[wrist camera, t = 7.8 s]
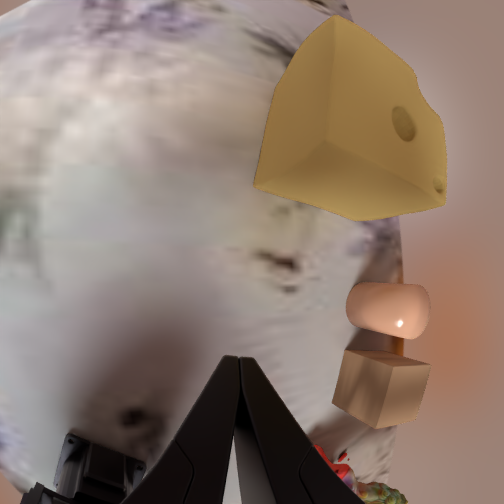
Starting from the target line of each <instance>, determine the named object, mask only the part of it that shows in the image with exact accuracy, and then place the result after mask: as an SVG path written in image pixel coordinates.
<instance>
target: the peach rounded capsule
mask: <svg viewBox="0 0 504 504" xmlns="http://www.w3.org/2000/svg"><path fill="white" fill-rule="evenodd" d="M346 313H347V317H348V319H349V321H350V322H351V323H352V324H353V325H354V326H356V327H360V328H364V329H368V330H372V331H376V332H380V333H384V334H389V335H393V336H397V337H402V338H406V339H414V338H416V337H418V336H419V335H420V334H421V333H422V332H423V330H424V329H425V327H426V325H427V323H428V320H429V316H430V299H429V295H428V293H427V291H426V289H425V288H424V287H423V286H421V285H413V284H395V283H376V282H361V283H358V284H357V285H356V286H354V287H353V288H352V290H351V291H350V293H349V295H348V298H347V302H346Z"/></svg>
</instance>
